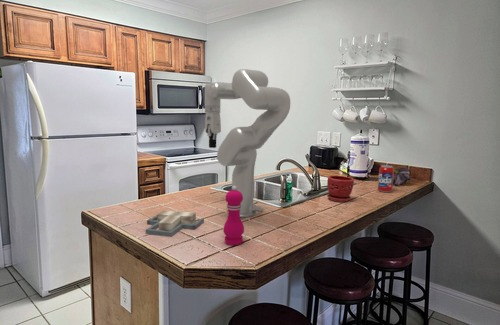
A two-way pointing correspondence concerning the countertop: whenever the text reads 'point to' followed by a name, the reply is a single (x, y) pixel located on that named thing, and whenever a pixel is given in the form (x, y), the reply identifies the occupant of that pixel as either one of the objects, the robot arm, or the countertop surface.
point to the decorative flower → (401, 176)
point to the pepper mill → (233, 218)
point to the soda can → (385, 178)
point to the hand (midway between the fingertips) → (212, 147)
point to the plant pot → (339, 188)
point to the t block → (174, 219)
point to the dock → (155, 225)
